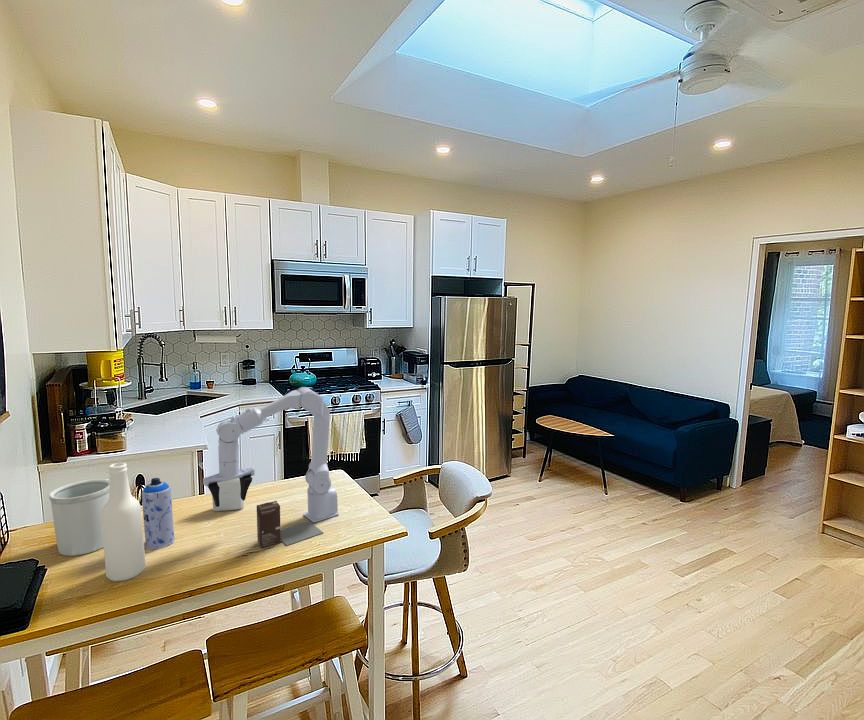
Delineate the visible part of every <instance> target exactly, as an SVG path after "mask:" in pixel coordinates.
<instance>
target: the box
mask: <svg viewBox="0 0 864 720" xmlns="http://www.w3.org/2000/svg"><path fill="white" fill-rule="evenodd" d="M256 529H257V530H256V532H257V533H256V534H257V544H258V547H260V548H261V549H262V548H265V547H270V546H273V545H277V544H280V543H281V542H282V541H281V537H280V530H281V505H280V504H279V503H278V501H277V500H274V501H271V502H265V503H261V504H256Z"/></svg>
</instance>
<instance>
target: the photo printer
mask: <svg viewBox="0 0 864 720" xmlns="http://www.w3.org/2000/svg"><path fill="white" fill-rule="evenodd" d="M217 484H218V486H219V487H220V489H219V503H220V504H219V507H216V506H215V502H214V499H213V496H212V495H211V498H212V499H211V500H212V509H213V511H214V512H221V511H235V510H236V511H237V510H242V509H244V508H245V500H242V499H241V496H240V491H241V487H240V479H239V478H237V479H232V480H227V481H223V482H218V483H217Z"/></svg>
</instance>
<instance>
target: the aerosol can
mask: <svg viewBox="0 0 864 720" xmlns="http://www.w3.org/2000/svg"><path fill="white" fill-rule="evenodd" d="M141 504H142V519H143V532H144V540H145V541H144V549H145V548H146V549H147V550H160V549H164V548H166V547H168V546H170V545H172V544H173V543H174V542H175V540H176V538H175V530H174V518H173V516H174V515H173V500H172V488H171V486H170V485H169V483H167V482H165V481H162V480H161V478H159V477H153V478H151V481H150V483H148V484H147V485H146V486H145V487H144V488H143V489H142V491H141Z"/></svg>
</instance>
